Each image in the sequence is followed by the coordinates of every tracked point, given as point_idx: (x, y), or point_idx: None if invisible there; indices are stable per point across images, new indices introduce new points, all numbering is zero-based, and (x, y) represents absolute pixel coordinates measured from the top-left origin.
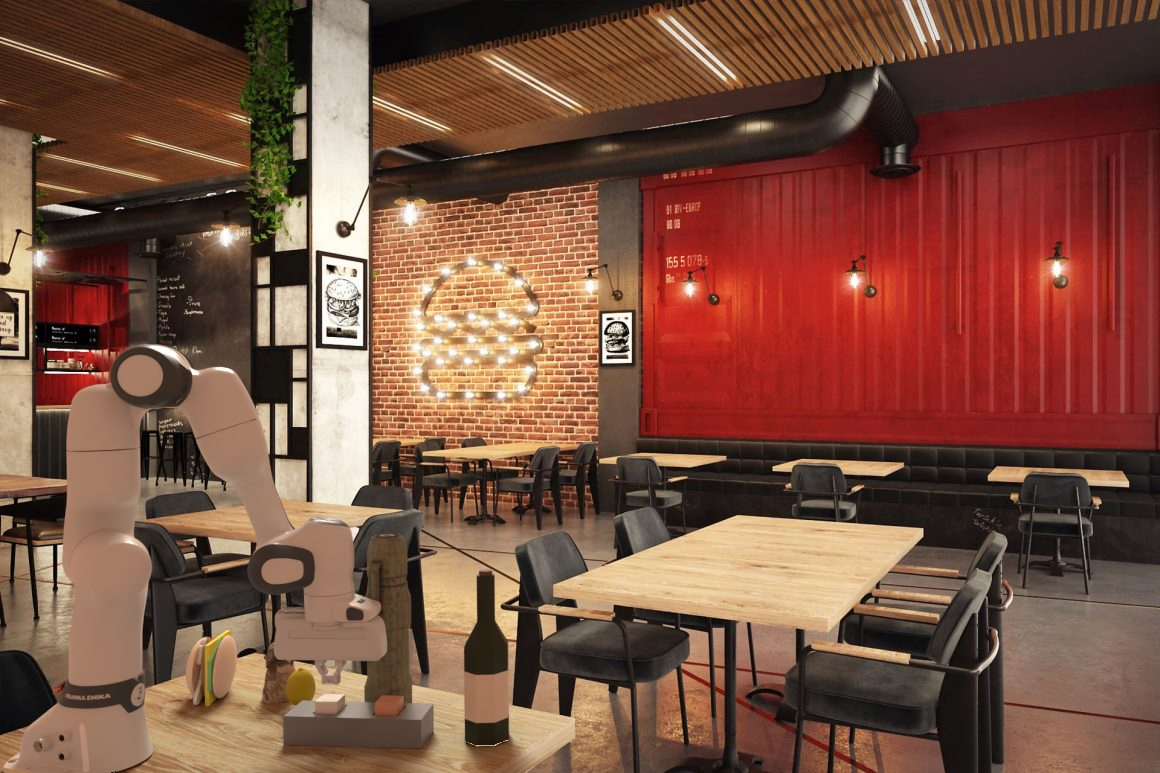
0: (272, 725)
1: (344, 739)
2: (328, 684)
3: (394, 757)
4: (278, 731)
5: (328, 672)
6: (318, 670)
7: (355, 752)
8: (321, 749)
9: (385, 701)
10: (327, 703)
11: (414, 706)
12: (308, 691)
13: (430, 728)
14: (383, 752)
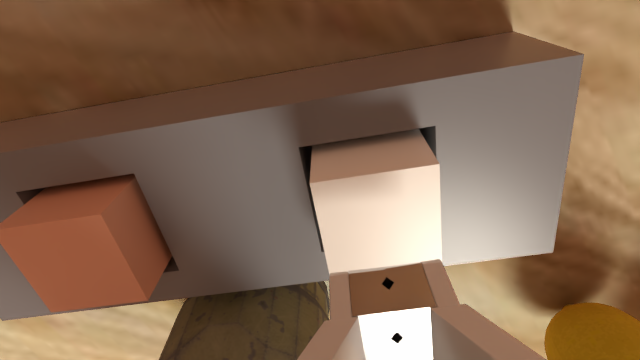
0: (623, 183)
1: (254, 83)
2: (393, 266)
3: (7, 29)
4: (581, 143)
5: (430, 354)
6: (499, 333)
7: (183, 35)
8: (332, 27)
9: (66, 241)
10: (362, 171)
11: None
12: (568, 348)
13: None
14: (83, 63)
